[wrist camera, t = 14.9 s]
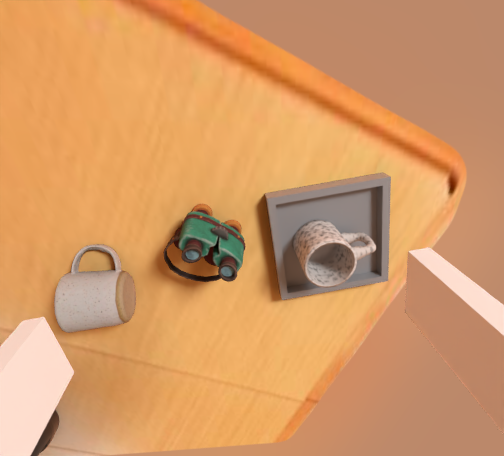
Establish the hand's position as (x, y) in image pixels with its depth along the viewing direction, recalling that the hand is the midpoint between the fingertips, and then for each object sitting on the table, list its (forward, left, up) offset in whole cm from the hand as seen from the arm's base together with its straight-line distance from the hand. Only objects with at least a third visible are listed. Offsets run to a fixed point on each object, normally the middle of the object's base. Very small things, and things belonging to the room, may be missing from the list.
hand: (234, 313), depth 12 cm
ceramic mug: (-21, -14, -31) cm, 40 cm away
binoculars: (-5, -11, -31) cm, 33 cm away
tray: (+12, -14, -31) cm, 36 cm away
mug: (+12, -14, -30) cm, 35 cm away
